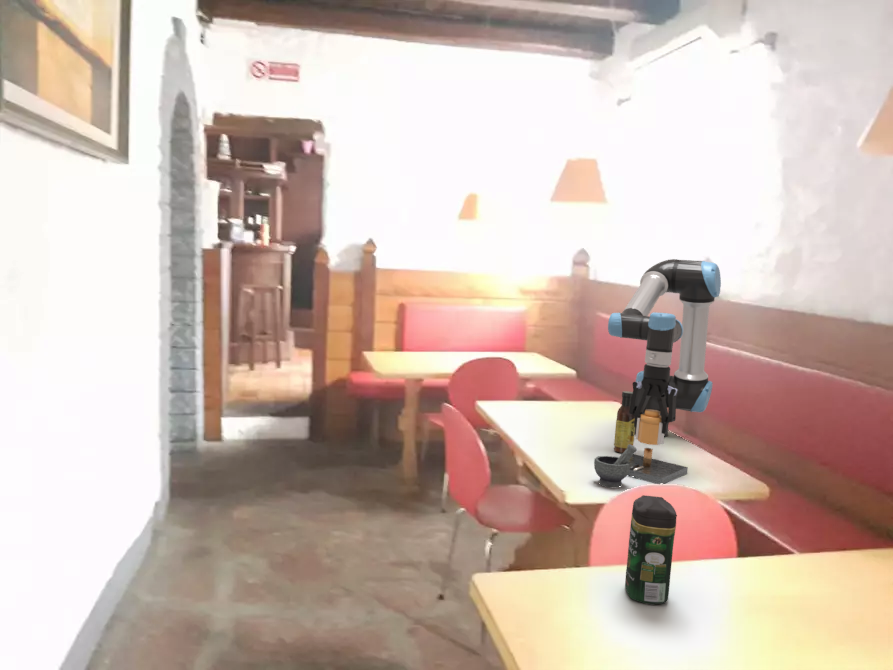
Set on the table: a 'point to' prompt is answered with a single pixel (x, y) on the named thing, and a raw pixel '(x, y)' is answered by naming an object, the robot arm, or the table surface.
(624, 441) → the sauce bottle
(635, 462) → the junction plate
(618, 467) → the mortar and pestle
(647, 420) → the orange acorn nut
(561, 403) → the table surface
